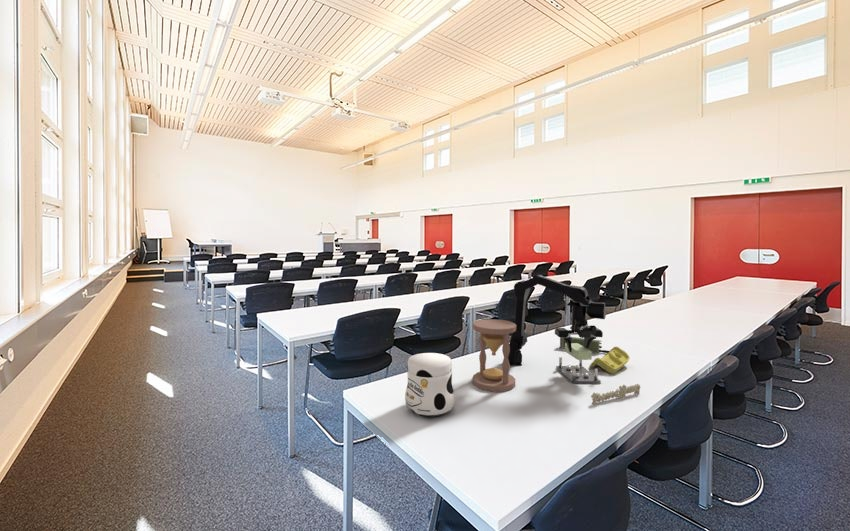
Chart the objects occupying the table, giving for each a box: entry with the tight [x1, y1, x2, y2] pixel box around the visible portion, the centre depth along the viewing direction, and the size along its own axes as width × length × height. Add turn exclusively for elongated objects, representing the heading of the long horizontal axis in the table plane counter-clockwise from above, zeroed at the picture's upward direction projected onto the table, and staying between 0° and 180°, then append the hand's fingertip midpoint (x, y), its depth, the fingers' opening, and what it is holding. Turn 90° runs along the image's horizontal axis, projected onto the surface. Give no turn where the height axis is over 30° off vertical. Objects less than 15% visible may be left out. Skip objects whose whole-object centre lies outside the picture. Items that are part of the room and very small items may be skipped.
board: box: [564, 343, 593, 361], centre depth 165 cm, size 6×12×4 cm, turn 6°
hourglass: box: [471, 318, 516, 393], centre depth 156 cm, size 18×18×25 cm
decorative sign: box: [590, 383, 641, 405], centre depth 142 cm, size 24×1×5 cm, turn 113°
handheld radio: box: [559, 336, 610, 354], centre depth 200 cm, size 7×3×25 cm
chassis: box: [556, 356, 602, 385], centre depth 165 cm, size 12×18×6 cm, turn 0°
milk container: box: [404, 352, 455, 418], centre depth 133 cm, size 17×17×18 cm
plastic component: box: [589, 346, 630, 374], centre depth 177 cm, size 20×7×10 cm
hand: (577, 351), depth 165 cm, fingers closed on board, 6 cm apart
